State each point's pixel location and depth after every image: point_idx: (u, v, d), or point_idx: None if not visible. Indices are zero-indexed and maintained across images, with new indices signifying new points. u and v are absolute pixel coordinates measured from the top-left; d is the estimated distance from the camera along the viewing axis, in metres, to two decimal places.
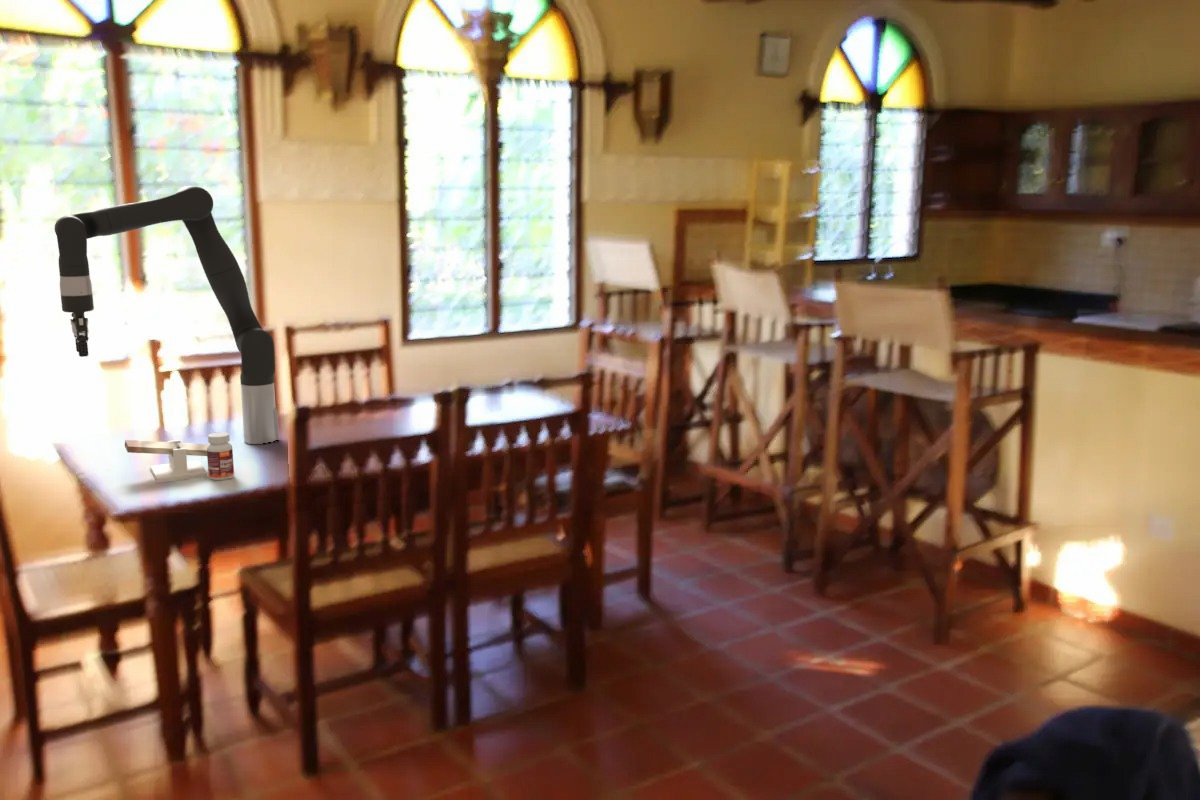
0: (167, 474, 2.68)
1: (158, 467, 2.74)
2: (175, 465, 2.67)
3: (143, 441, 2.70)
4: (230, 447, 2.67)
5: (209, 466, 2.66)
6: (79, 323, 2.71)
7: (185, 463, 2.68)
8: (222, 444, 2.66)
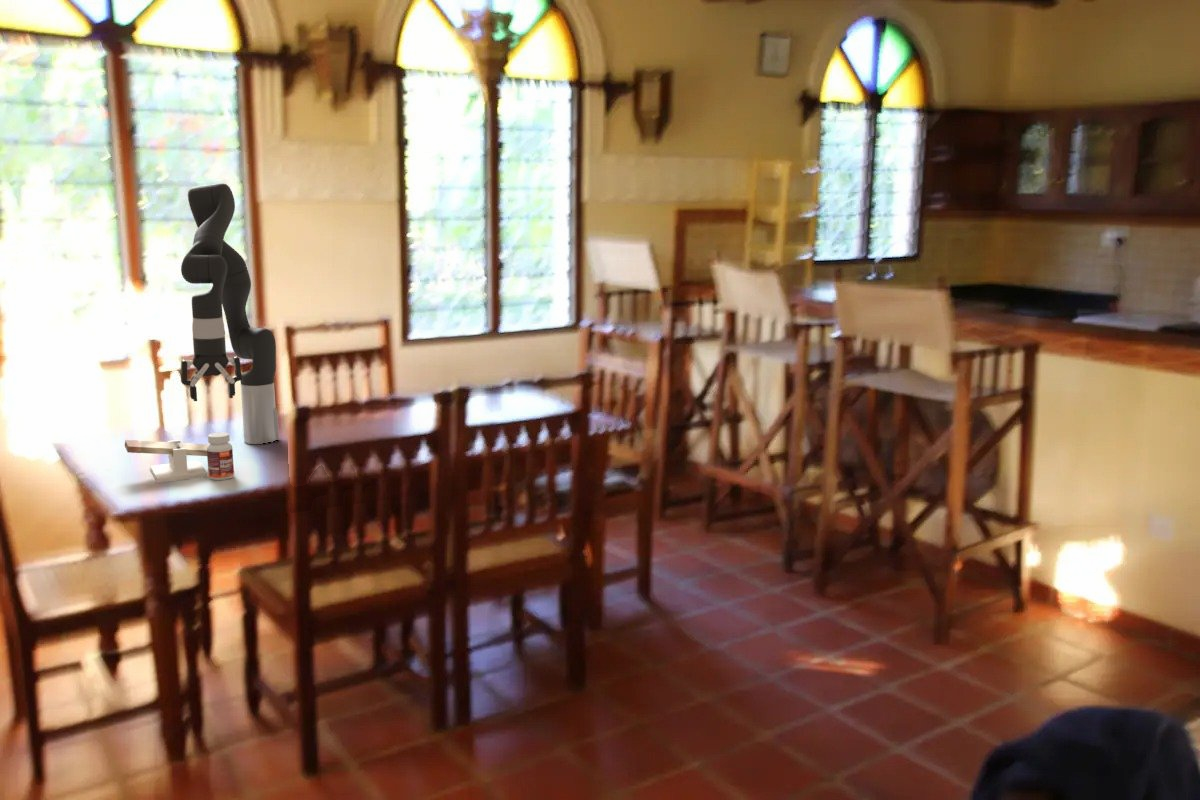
0: (167, 474, 2.68)
1: (158, 467, 2.74)
2: (175, 465, 2.67)
3: (143, 441, 2.70)
4: (230, 447, 2.67)
5: (209, 466, 2.66)
6: (239, 362, 2.66)
7: (185, 463, 2.68)
8: (222, 444, 2.66)
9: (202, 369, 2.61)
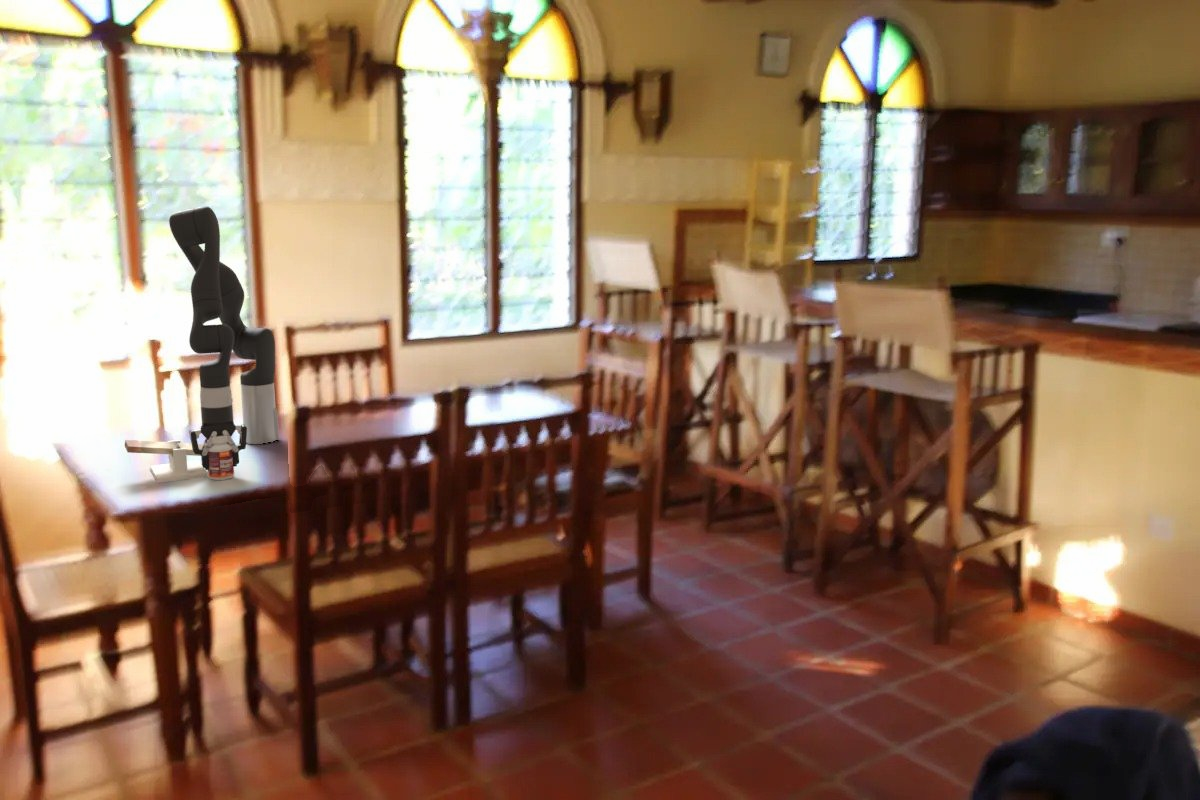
0: (167, 474, 2.68)
1: (158, 467, 2.74)
2: (175, 465, 2.67)
3: (143, 441, 2.70)
4: (230, 447, 2.67)
5: (209, 466, 2.66)
6: None
7: (185, 463, 2.68)
8: (222, 444, 2.66)
9: (211, 437, 2.64)
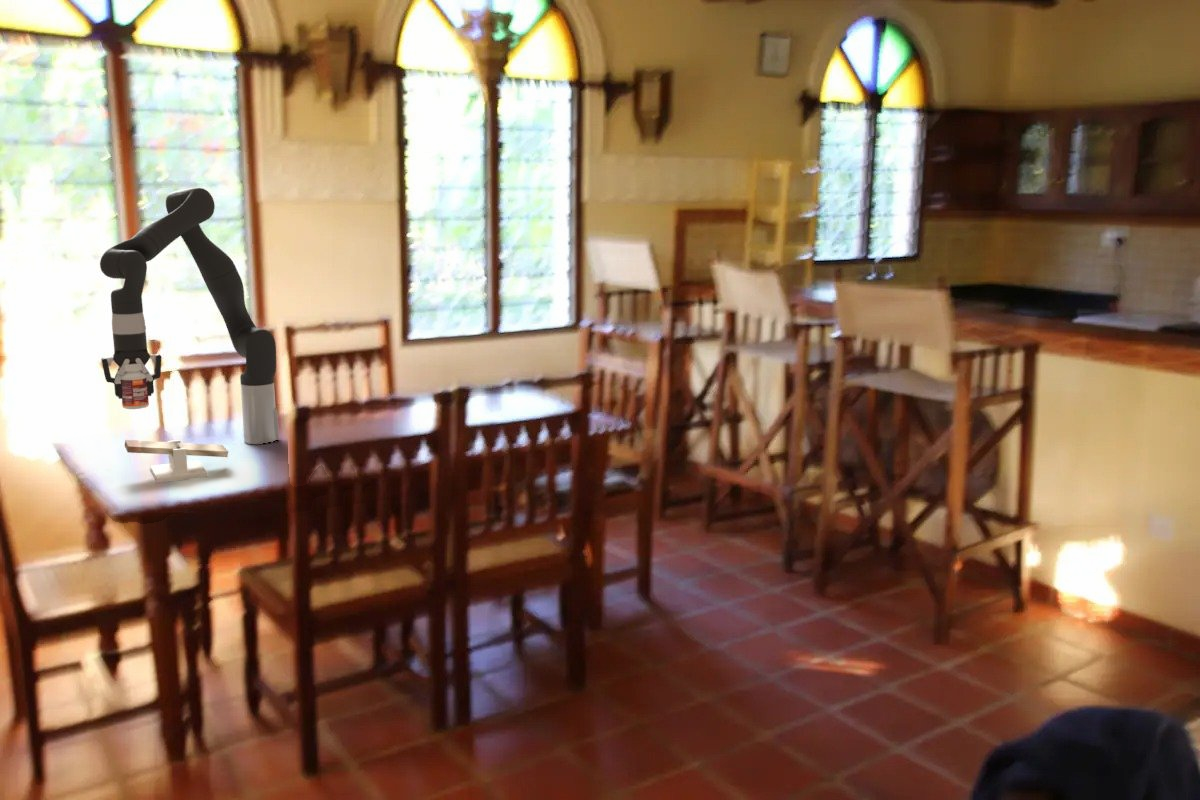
0: (167, 474, 2.68)
1: (158, 467, 2.74)
2: (175, 465, 2.67)
3: (143, 441, 2.70)
4: (144, 376, 2.63)
5: (122, 395, 2.62)
6: (160, 360, 2.65)
7: (185, 463, 2.68)
8: (135, 372, 2.61)
9: (123, 365, 2.60)
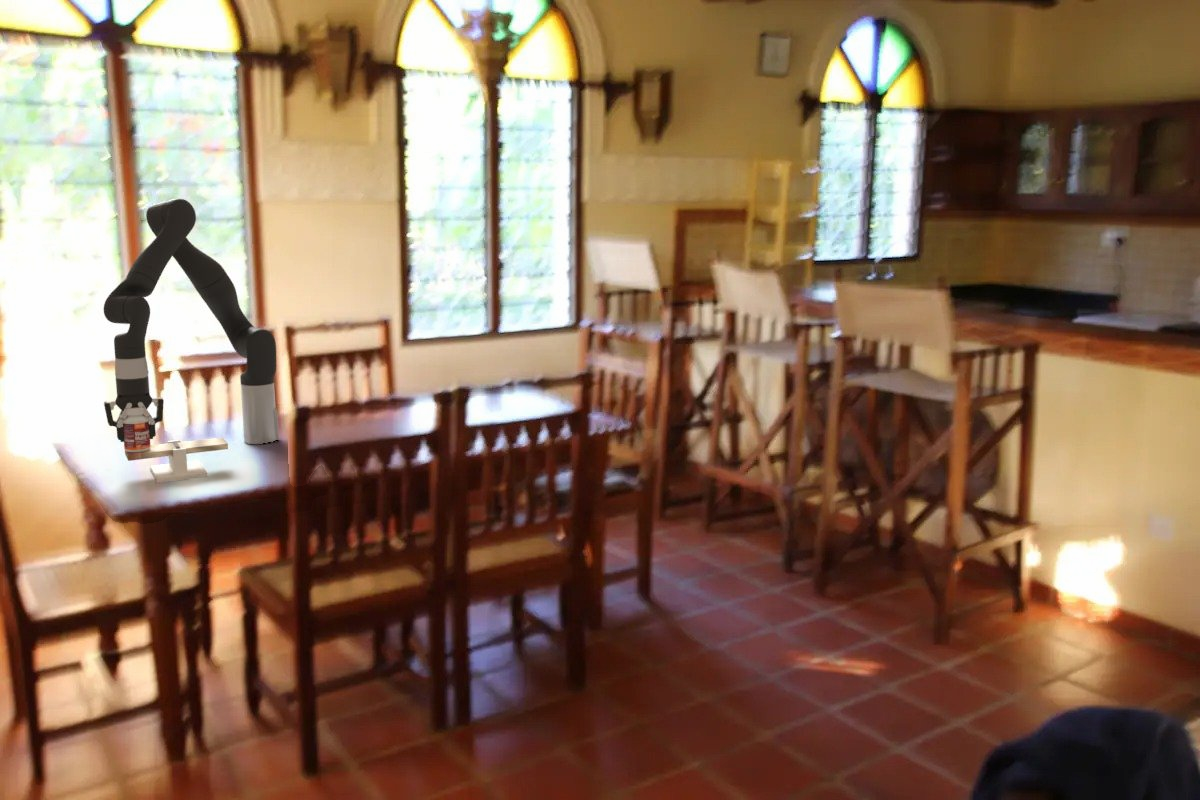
0: (167, 474, 2.68)
1: (158, 467, 2.74)
2: (175, 465, 2.67)
3: None
4: (146, 419, 2.65)
5: (124, 438, 2.64)
6: (162, 403, 2.68)
7: (185, 463, 2.68)
8: (137, 416, 2.64)
9: (126, 409, 2.62)
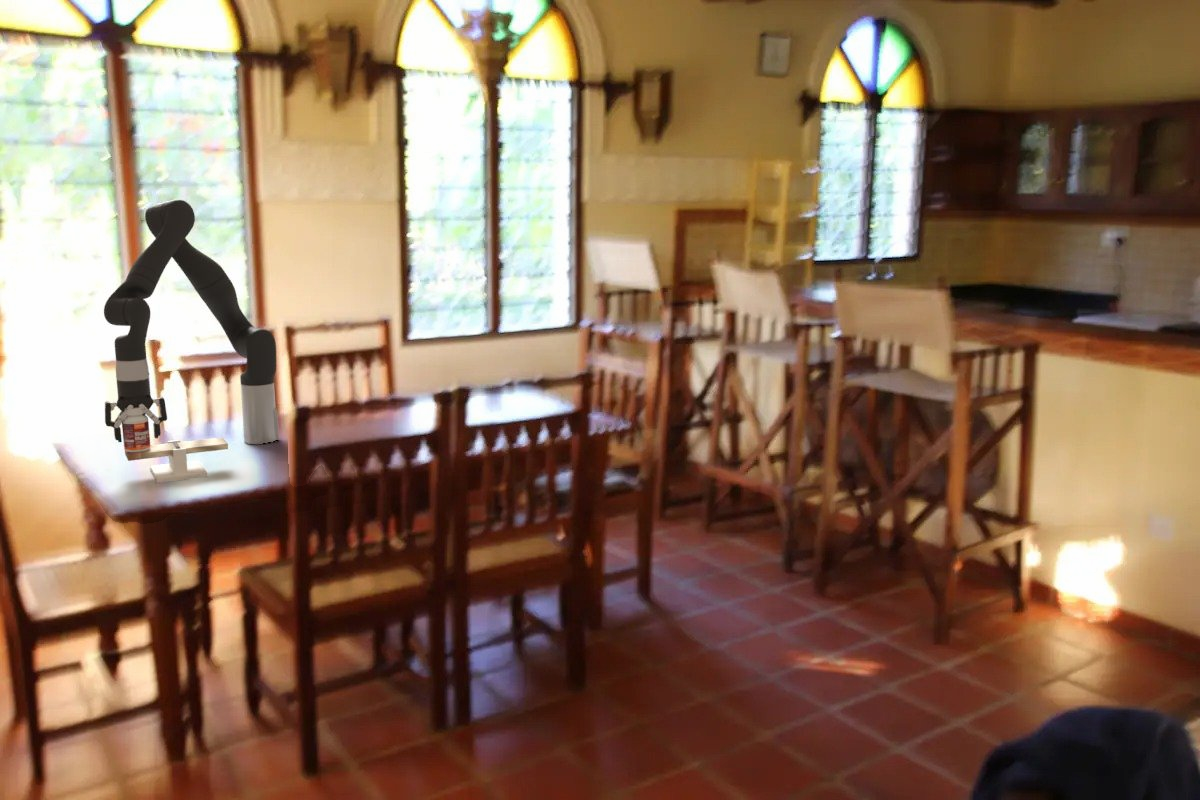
0: (167, 474, 2.68)
1: (158, 467, 2.74)
2: (175, 465, 2.67)
3: None
4: (145, 419, 2.65)
5: (124, 438, 2.64)
6: (164, 402, 2.68)
7: (185, 463, 2.68)
8: (137, 416, 2.64)
9: (126, 410, 2.62)
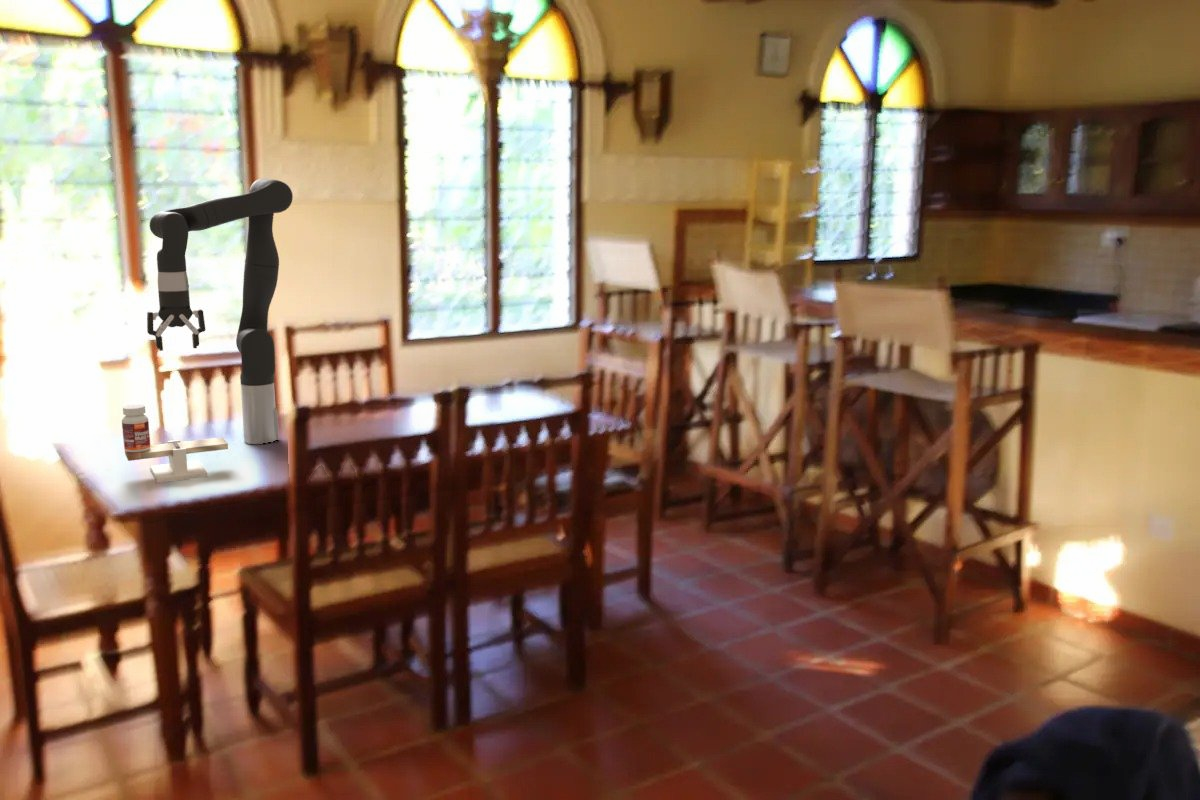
0: (167, 474, 2.68)
1: (158, 467, 2.74)
2: (175, 465, 2.67)
3: None
4: (145, 419, 2.65)
5: (124, 438, 2.64)
6: (203, 314, 2.83)
7: (185, 463, 2.68)
8: (137, 416, 2.64)
9: (167, 320, 2.77)
